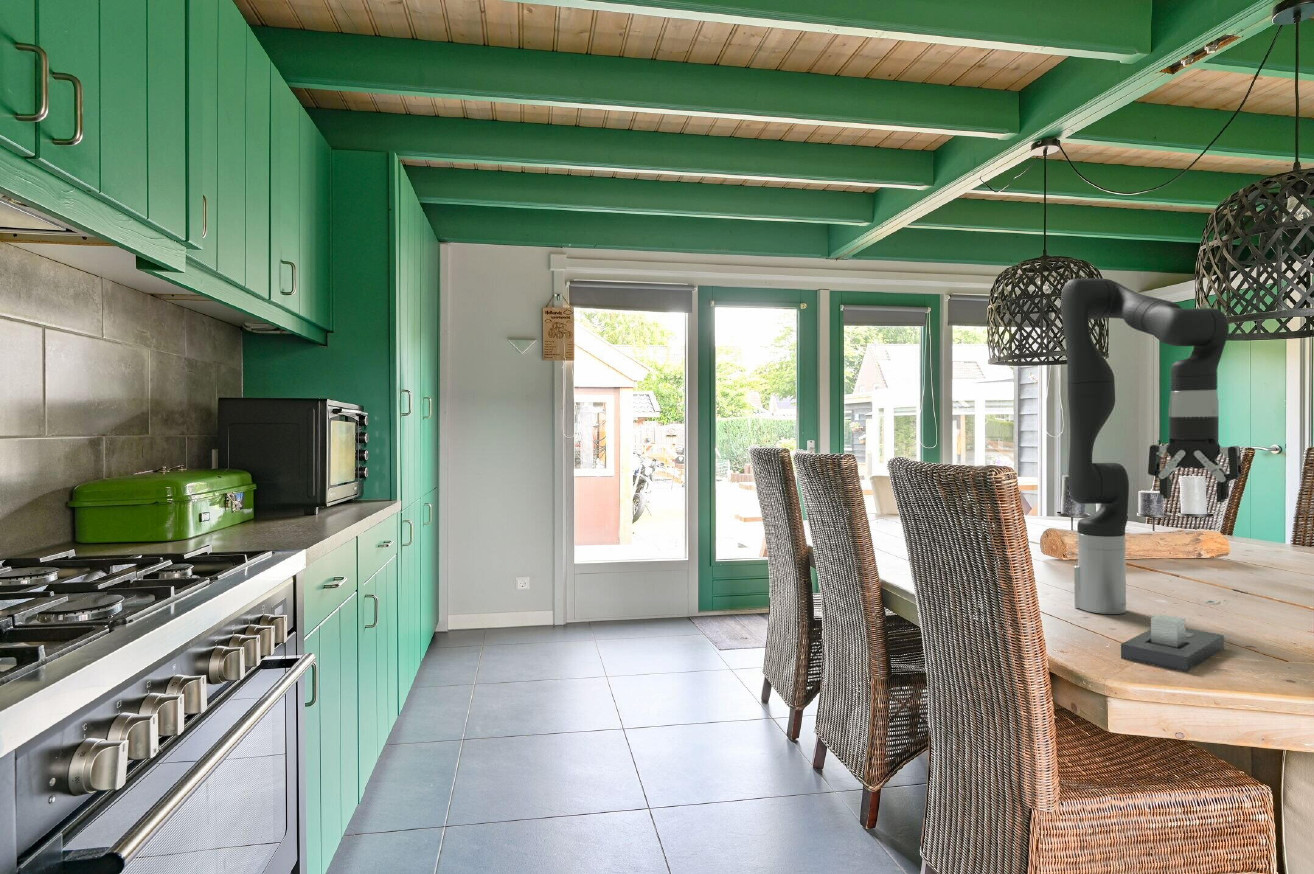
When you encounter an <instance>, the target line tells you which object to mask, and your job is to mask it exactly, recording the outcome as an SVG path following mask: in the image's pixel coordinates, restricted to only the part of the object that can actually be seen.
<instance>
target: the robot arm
mask: <svg viewBox="0 0 1314 874" xmlns="http://www.w3.org/2000/svg"><path fill="white" fill-rule="evenodd" d="M1060 312H1061V320H1062V326H1063V334H1064V341H1065V349H1066V350H1065V351H1066V364H1067V366H1066V367H1067V368H1066V369H1067V371H1066V372H1067V401H1068V402H1067V403H1068V411H1069V412H1068V413H1069V414H1068V415H1069V454H1068V471H1067V473H1068V475H1067V478H1068V479H1067V480H1068V482H1067V484H1068V489H1069V494H1070V496H1071V498H1072V500H1073V501H1074V502H1075V503H1078V504H1081V505H1083V504H1084V505H1089V504H1091V505H1095V504H1097V505H1098V504H1099V505H1100V506H1099V509H1098V510H1096V512H1094V513H1092V514H1091V515H1088V516H1086V517H1083V518H1081V519H1079V520H1078V521H1077V530H1076V531H1077V564H1076V565H1075V566H1074V567H1073V568H1074V569H1073V572H1074V574H1073V576H1074V577H1073V579H1074V580H1073V581H1074V586H1073V587H1074V592H1073V593H1074V608H1075V609H1076V608H1077V609H1080V610H1083V611H1086V612H1089V613H1097V614H1103V615H1120V614H1125V613H1126V612H1127V580H1126V579H1127V577H1126V575H1127V573H1126V572H1127V571H1126V570H1127V569H1126V568H1127V567H1126V566H1127V565H1126V562H1127V561H1126V528H1127V527H1126V526H1127V524H1128V519H1129V517H1128V516H1129V515H1128V514H1129V513H1128V512H1129V494H1130V481H1129V475H1128V473H1127V470H1126V469H1125V467H1124V466H1123V465H1122V464H1120V463H1118V462H1093V452H1094V451H1093V450H1094V445H1095V441H1096V439H1097V437H1098V434H1099V433H1100V432H1101V430H1102V428H1103V426H1104V425H1105V424H1106V422H1107V421H1108V419H1109V417H1110V416H1111V414H1112V411H1113V410H1114V408H1115V405H1116V387H1115V385H1116V384H1115V383H1116V382H1115V381H1116V380H1115V374H1114V372H1113V370H1112V368H1111V366H1110V364H1109V363H1108V362H1107V360H1106V358H1105V357H1104V355H1102V353H1101V352H1100V350H1099V349H1098V348H1097V346H1096V344H1095V342H1094V340H1093V337H1092V335H1091V331H1090V330H1091V329H1090V324H1089V320H1101V319H1119V320H1120V319H1122V320H1123V321H1124V323H1126V325H1127V326H1129V327H1130V328H1131V329H1134V330H1136V331H1139V332H1143V333H1145V334H1148V335H1151V336H1154V337H1155V338H1156V339H1157V340H1159V342H1161V343H1163V344H1165V345H1168V346H1172V347H1173V346H1174V347H1193V349H1192V351H1191V353H1190V355H1189V357H1188V358H1183V359H1180V360H1176V361H1175V362H1173V364H1172V365H1171V368H1170V397H1169V405H1168V416H1169V417H1168V425H1169V426H1168V428H1169V429H1168V436H1169V437H1168V440H1169V441H1168V444H1167V445H1161V444H1151V445H1150V446H1149V452H1148V453H1149V454H1148V466H1147V474H1148V475H1149V476H1153V477H1156V478H1158V481H1159V494H1160V496H1162V498H1163V499H1164V500H1165V499H1166V500H1169V499H1171V498H1172V478H1170V477H1172V475H1173V474H1174V473H1175V472H1176V471H1178V469H1180V468H1182V469H1188V468H1193V469H1198V470H1199V469H1200V470H1201V469H1207V471H1208V472H1209V473H1211V474H1212V475H1213V476H1214V477H1215V479H1216V480H1217V482H1216V502H1217V503H1224V502H1225V501H1226V500H1228V499H1229V497H1230V482H1231V481H1233V480H1237V479H1241V478H1242V477H1243V470H1242V469H1243V468H1242V457H1241V456H1242V455H1241V454H1242V453H1241V448H1240V446H1238V445H1233V446H1225V447H1224V446H1221V445H1220V443H1219V442H1220V441H1219V437H1220V436H1219V432H1220V431H1219V427H1220V426H1219V422H1220V421H1219V419H1220V418H1219V415H1220V414H1219V412H1220V411H1219V410H1220V409H1219V407H1220V406H1219V396H1218V367H1219V364H1220V362H1221V358H1222V354H1223V352H1224V348H1225V345H1226V342H1227V340H1228V336H1229V331H1230V324H1229V320H1228V318H1227V316H1226V314H1225V313H1224V312H1223V311H1222V310H1220V309H1218V308H1214V307H1211V308H1209V307H1208V308H1205V307H1204V308H1182V307H1181V305H1179V304H1178V303H1175V302H1173V301H1171V300H1167V299H1162V298H1157V297H1153V296H1149V295H1146V294H1145V295H1144V294H1141V293H1138V292H1136V291H1134V290H1132V289H1130V288H1128V287H1126V286H1124V285H1123V284H1121V283H1119V282H1117V281H1115V280H1112V279H1108V278H1098V277H1096V278H1088V277H1087V278H1071V279H1070V280H1068V281H1067V282H1066V283H1065V284H1064V286H1063V287H1062V290H1061V295H1060ZM1165 453H1167V454H1168V455H1169V457H1170V458H1171V460H1170V461H1169V462H1168V463H1167V464H1166V465H1165V467H1164V468H1163V469H1162V470H1161V458H1162V457H1163V456H1164V455H1165ZM1221 454H1223V456H1224V458H1226V459H1228V472H1229V473H1227V472H1226V471H1225V469H1224V468H1223V466H1222V464H1220V463H1219V462H1218V461H1217V459H1218V457H1219V456H1220V455H1221Z"/></svg>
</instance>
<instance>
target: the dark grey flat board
mask: <svg viewBox="0 0 1314 874" xmlns="http://www.w3.org/2000/svg"><path fill="white" fill-rule="evenodd" d="M1224 636H1225V635H1224V634H1220V633H1216V632H1209V631H1203V630H1202V631H1201V630H1197V629H1193V628H1192V629H1191V628H1186V627H1185V640H1186V646H1185V647H1183V648H1181V649H1176V648H1171V647H1166V646H1161V645H1156V644H1151V628H1150V629H1149V630H1146V631H1144V632H1143V633H1141V634H1139V635H1135V636H1134V637H1133V638H1129V639H1128V640H1126V641H1124V642H1122V643H1121V644H1120V658H1121V659H1124V660H1129V659H1130V661H1134V662H1138V661H1139V662H1138V663H1143V662H1145V663H1144V664H1147V663H1148V665H1152V664H1155V665H1154V666H1157V665H1159V666H1158V667H1161V666H1163V667H1162V668H1166V667H1167V669H1171V668H1172V669H1171V670H1176V671H1180V670H1181V672H1185V671H1186V672H1185V673H1188V672H1190V671H1191V670H1192V669H1194V668H1195V667H1197V666H1199V665H1200V664H1201V663H1203V662H1205V661H1206V660H1208V659H1209V657H1210V658H1211V657H1212V656H1214V655H1216V654H1217V653H1219V652H1220V651H1222V650H1224V649H1223V648H1225V642H1224V640H1225V639H1224V638H1225V637H1224Z"/></svg>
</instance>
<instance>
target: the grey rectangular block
mask: <svg viewBox="0 0 1314 874" xmlns="http://www.w3.org/2000/svg"><path fill="white" fill-rule="evenodd" d="M1185 628H1186V618H1183V617H1178V616H1174V615H1166V614H1158V615H1154V616H1153V617H1151V618H1150V629H1151V644H1156V645H1161V646H1166V647H1171V648H1176V649H1181V648H1183V647H1185V646H1186V640H1185Z"/></svg>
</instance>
